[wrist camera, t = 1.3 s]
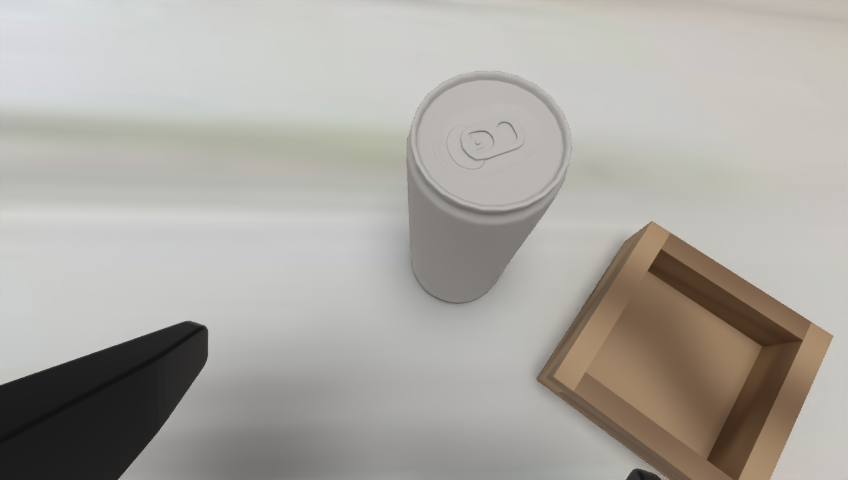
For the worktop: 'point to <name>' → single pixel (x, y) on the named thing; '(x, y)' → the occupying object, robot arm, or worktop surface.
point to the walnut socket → (687, 362)
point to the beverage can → (480, 178)
